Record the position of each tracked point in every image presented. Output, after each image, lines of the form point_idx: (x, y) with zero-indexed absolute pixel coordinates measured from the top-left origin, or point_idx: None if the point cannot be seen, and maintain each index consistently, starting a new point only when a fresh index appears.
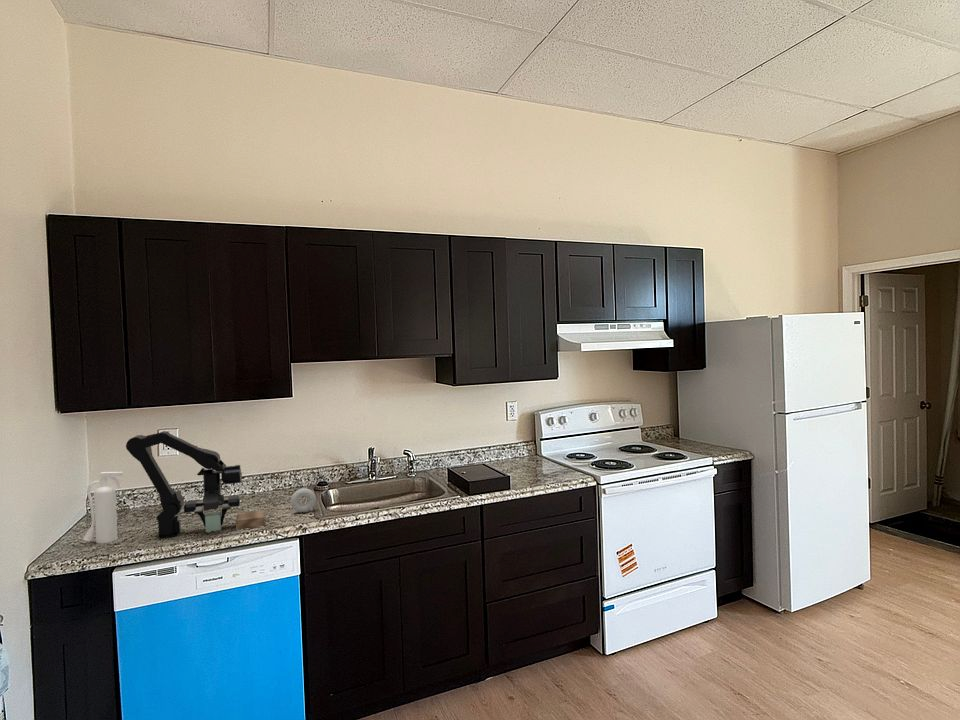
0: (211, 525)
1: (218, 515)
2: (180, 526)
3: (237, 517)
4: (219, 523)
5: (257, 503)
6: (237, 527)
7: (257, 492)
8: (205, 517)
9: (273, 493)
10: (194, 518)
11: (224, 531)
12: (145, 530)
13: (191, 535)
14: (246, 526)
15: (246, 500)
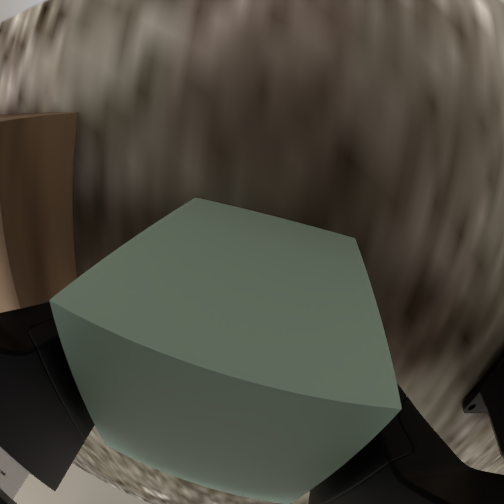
0: (284, 253)
1: (81, 308)
2: (497, 406)
3: (2, 247)
4: (162, 227)
5: (89, 449)
6: (50, 114)
7: (119, 488)
8: (394, 390)
9: (78, 460)
10: (307, 494)
11: (163, 138)
12: (497, 452)
13: (479, 251)
14: (13, 115)
15: (130, 482)
